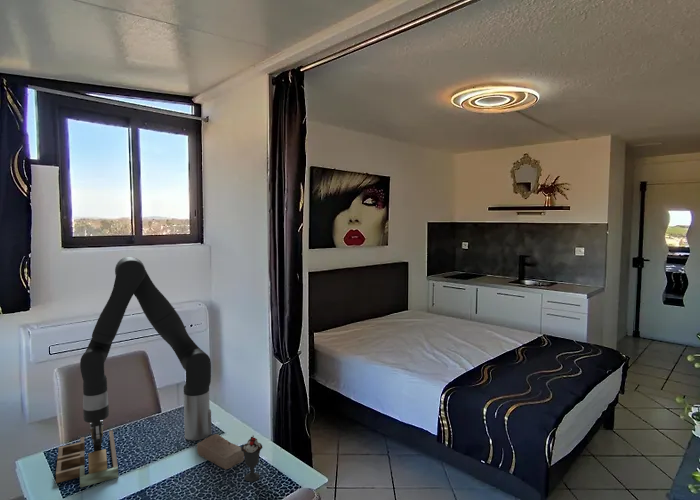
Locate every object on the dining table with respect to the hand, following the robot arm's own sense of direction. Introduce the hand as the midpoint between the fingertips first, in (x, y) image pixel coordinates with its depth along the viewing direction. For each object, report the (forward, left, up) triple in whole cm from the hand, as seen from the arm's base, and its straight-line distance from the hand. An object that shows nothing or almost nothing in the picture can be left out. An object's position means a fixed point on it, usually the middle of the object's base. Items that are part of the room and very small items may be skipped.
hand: (97, 453), depth 148 cm
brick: (-37, +20, -3) cm, 42 cm away
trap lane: (+3, +1, -2) cm, 4 cm away
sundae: (-42, +38, -2) cm, 56 cm away
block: (0, +10, -2) cm, 10 cm away
